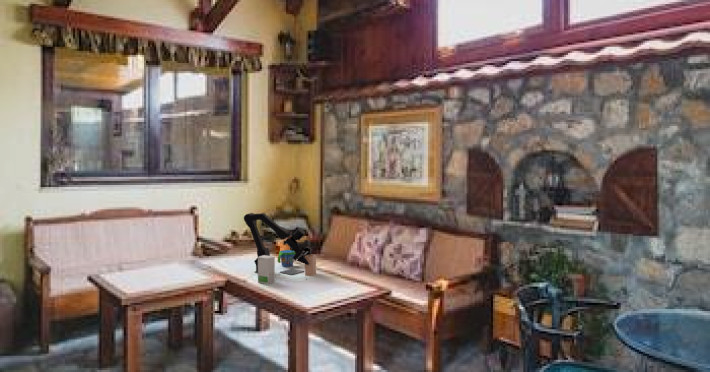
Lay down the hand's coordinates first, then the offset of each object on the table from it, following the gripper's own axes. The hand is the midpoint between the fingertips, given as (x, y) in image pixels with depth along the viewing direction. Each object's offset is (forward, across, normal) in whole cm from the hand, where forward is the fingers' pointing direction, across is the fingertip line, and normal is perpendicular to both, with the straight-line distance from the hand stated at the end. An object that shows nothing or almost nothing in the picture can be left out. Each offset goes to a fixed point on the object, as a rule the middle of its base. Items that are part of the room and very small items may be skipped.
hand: (311, 263), depth 331 cm
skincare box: (-9, -23, +20) cm, 31 cm away
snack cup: (-12, +19, +23) cm, 32 cm away
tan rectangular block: (+5, 0, +6) cm, 7 cm away
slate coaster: (-5, +3, +16) cm, 17 cm away
